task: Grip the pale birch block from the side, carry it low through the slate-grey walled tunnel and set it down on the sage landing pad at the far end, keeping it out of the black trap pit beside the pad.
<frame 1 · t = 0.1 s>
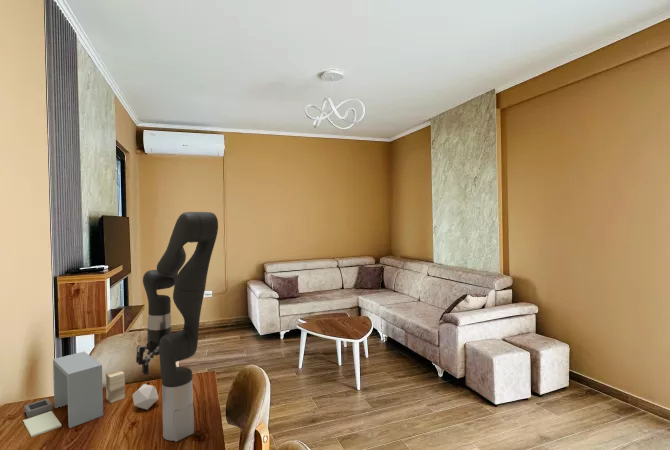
hand: (158, 370, 127), 17 cm above the table, tool pointing down, fingers open, 8 cm apart
trap pit: (38, 411, 133), on the table
tunnel: (78, 411, 132), on the table
birch block: (115, 398, 142), on the table
die: (145, 407, 135), on the table
landing pad: (42, 424, 124), on the table
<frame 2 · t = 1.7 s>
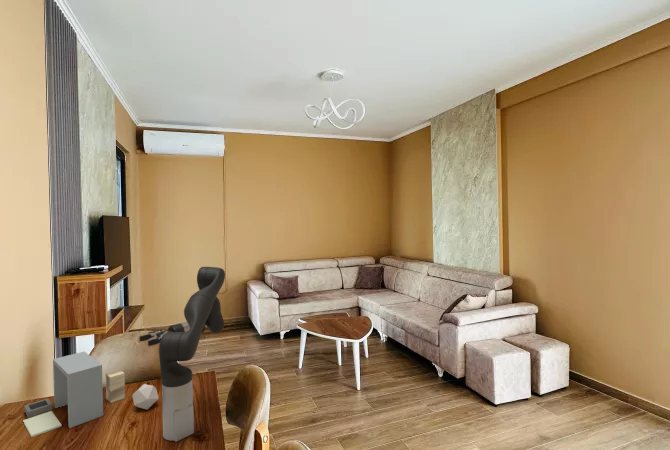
hand: (143, 341, 150), 20 cm above the table, tool horizontal, fingers open, 8 cm apart
nothing on the table moved.
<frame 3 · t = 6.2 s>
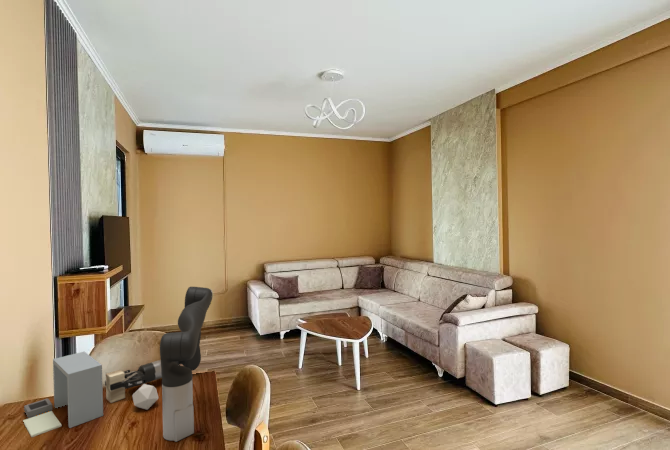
hand: (108, 385, 140), 6 cm above the table, tool horizontal, fingers closed on birch block, 5 cm apart
birch block: (115, 398, 142), on the table, touching gripper
everything else where it was.
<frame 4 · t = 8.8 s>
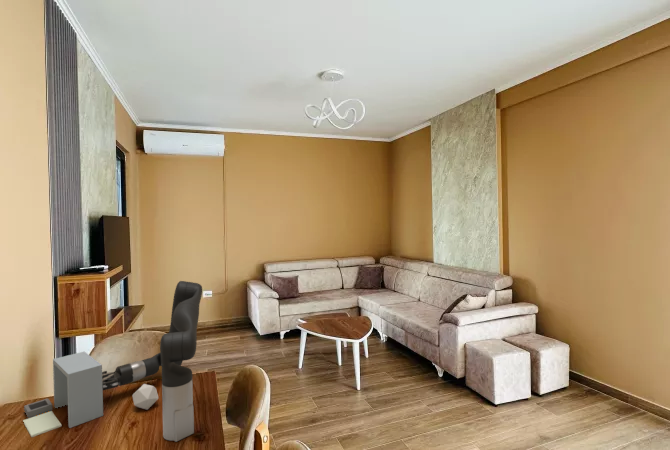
hand: (81, 387, 133), 8 cm above the table, tool horizontal, fingers closed on birch block, 5 cm apart
birch block: (90, 401, 135), point 2 cm above the table, touching gripper
everything else where it was.
when the fingers open (8 cm above the table, at t = 11.8 s): birch block stays where it is, resting on landing pad.
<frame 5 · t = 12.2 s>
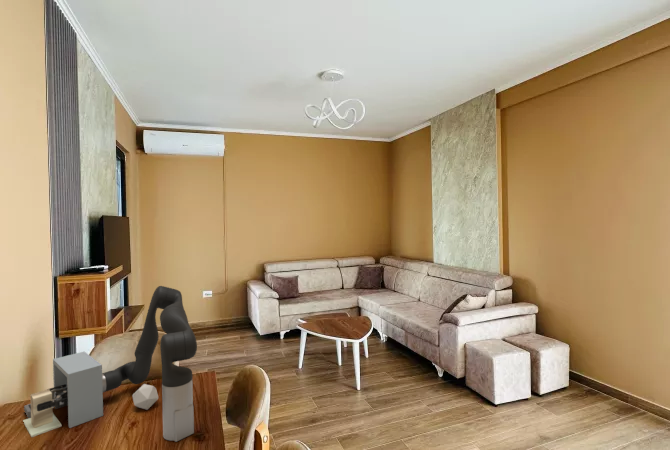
hand: (34, 404, 123), 8 cm above the table, tool horizontal, fingers open, 8 cm apart
birch block: (42, 422, 124), point 1 cm above the table, touching landing pad
everything else where it was.
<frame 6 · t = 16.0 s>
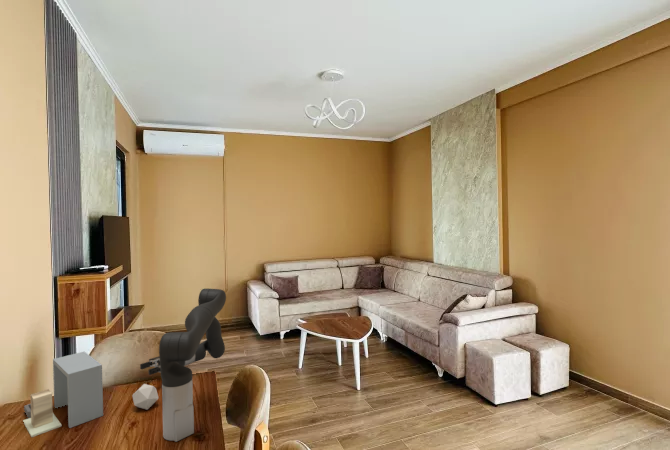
hand: (144, 369, 150), 8 cm above the table, tool horizontal, fingers open, 8 cm apart
nothing on the table moved.
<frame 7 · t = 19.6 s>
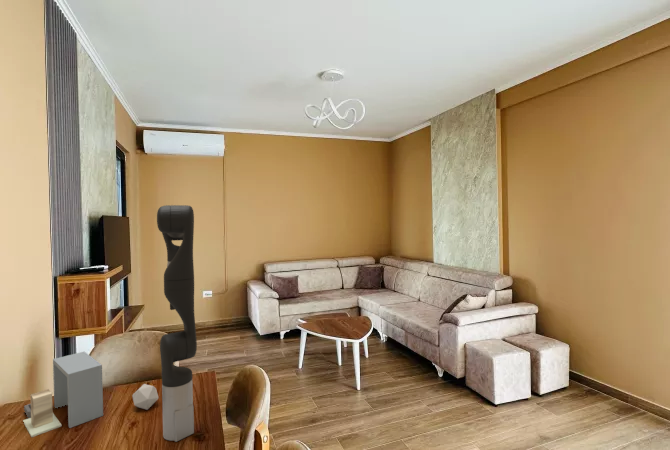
hand: (177, 311, 147), 33 cm above the table, tool pointing down, fingers open, 8 cm apart
nothing on the table moved.
at the end: birch block inside the target area on the landing pad (0.0 cm from its centre), point 0.6 cm above the landing pad's base; birch block tilted 0°; birch block touching landing pad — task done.
